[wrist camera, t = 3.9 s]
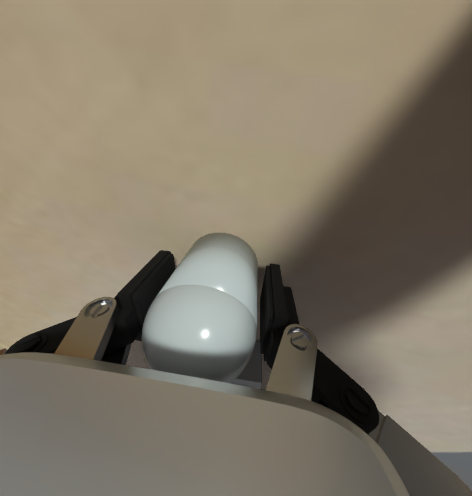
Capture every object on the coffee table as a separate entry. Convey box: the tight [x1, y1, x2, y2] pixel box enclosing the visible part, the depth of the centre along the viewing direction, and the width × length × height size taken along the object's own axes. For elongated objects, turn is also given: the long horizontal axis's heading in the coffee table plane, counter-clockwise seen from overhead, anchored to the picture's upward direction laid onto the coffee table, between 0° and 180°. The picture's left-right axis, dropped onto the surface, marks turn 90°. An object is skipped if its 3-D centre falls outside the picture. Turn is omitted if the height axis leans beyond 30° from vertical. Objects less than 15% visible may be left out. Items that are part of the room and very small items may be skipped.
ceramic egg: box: [142, 233, 258, 384], centre depth 9 cm, size 5×5×8 cm
